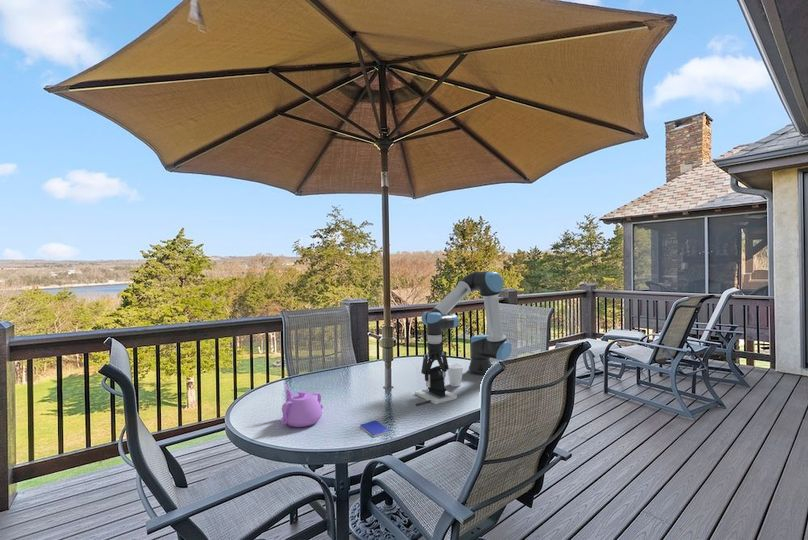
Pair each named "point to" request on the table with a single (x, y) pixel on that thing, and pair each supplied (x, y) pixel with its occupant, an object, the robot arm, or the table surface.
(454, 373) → the cup
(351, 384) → the table surface
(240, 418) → the table surface
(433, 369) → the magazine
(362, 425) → the hard drive
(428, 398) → the charging pad
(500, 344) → the robot arm
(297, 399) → the teapot
